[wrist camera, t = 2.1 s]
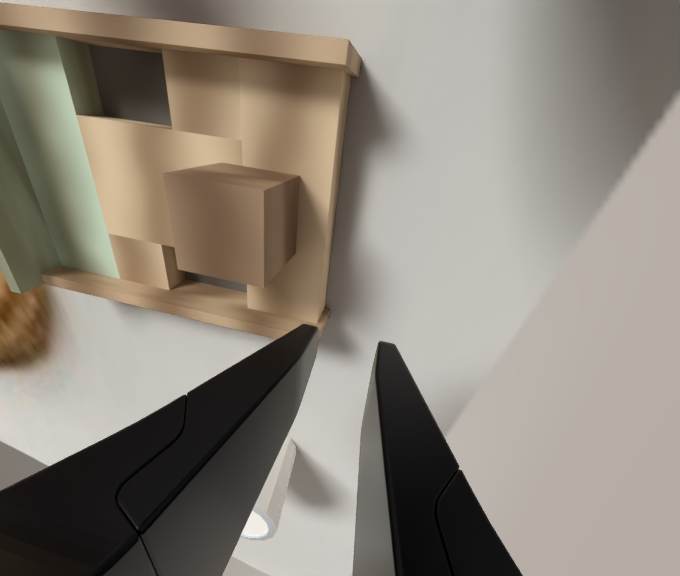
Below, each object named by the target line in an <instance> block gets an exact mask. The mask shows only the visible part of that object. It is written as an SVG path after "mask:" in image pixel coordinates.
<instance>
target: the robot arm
mask: <svg viewBox="0 0 680 576" xmlns="http://www.w3.org/2000/svg"><path fill="white" fill-rule="evenodd" d="M318 336H319V328H318V327H317V326H313V325H309V324H302V325H300V326H298V327H297V328H295V329H293V330H292V331H290V332H288V333H287V334H285V335H283V336H282V337H280V338H278V339H277V340H275V341H273V342H272V343H270V344H268V345H267V346H265V347H263V348H262V349H260V350H258V351H257V352H255V353H253V354H252V355H250V356H248V357H246V358H245V359H243V360H241V361H240V362H238V363H236V364H235V365H233V366H231V367H230V368H228V369H226V370H225V371H223V372H221V373H220V374H218V375H216V376H215V377H213V378H211V379H210V380H208V381H206V382H205V383H203V384H201V385H200V386H198V387H196V388H195V389H193V390H191V391H190V392H188V393H187V396H186V395H183V396H181V397H179V398H178V399H176V400H174V401H172V402H171V403H169V404H167V405H166V406H164V407H162V408H160V409H159V410H157V411H155V412H153V413H152V414H150V415H148V416H146V417H145V418H143V419H141V420H139V421H138V422H136V423H134V424H132V425H130V426H128V427H126V428H124V429H122V430H120V431H118V432H116V433H115V434H113V435H111V436H109V437H107V438H105V439H103V440H101V441H99V442H97V443H95V444H93V445H91V446H89V447H87V448H85V449H83V450H81V451H79V452H77V453H75V454H73V455H71V456H69V457H67V458H65V459H63V460H61V461H59V462H57V463H55V464H53V465H51V466H49V467H47V468H45V469H43V470H42V471H39V472H37V473H35V474H33V475H31V476H29V477H27V478H25V479H23V480H21V481H19V482H17V483H15V484H13V485H11V486H9V487H7V488H5V489H3V490H1V491H0V576H222V574H223V572H224V570H225V568H226V566H227V564H228V561H229V559H230V557H231V555H232V553H233V551H234V549H235V546H236V544H237V542H238V540H239V538H240V536H241V533H242V531H243V529H244V527H245V525H246V523H247V521H248V518H249V516H250V514H251V512H252V510H253V508H254V506H255V503H256V501H257V499H258V497H259V495H260V493H261V490H262V488H263V486H264V484H265V482H266V480H267V478H268V475H269V473H270V471H271V469H272V467H273V465H274V463H275V460H276V458H277V456H278V454H279V452H280V450H281V447H282V445H283V443H284V441H285V439H286V437H287V435H288V432H289V430H290V428H291V426H292V424H293V422H294V419H295V417H296V415H297V412H298V410H299V407H300V404H301V401H302V398H303V395H304V392H305V389H306V386H307V383H308V380H309V377H310V374H311V370H312V367H313V364H314V361H315V358H316V353H317V345H318ZM458 469H459V465H458V463H457V461H456V459H455V457H454V455H453V453H452V452H451V450H450V448H449V446H448V444H447V442H446V440H445V438H444V436H443V434H442V432H441V430H440V429H439V427H438V425H437V423H436V421H435V419H434V417H433V415H432V413H431V411H430V410H429V408H428V406H427V404H426V402H425V400H424V398H423V396H422V394H421V392H420V391H419V389H418V387H417V385H416V383H415V381H414V379H413V377H412V375H411V373H410V372H409V370H408V368H407V366H406V364H405V362H404V360H403V358H402V356H401V355H400V353H399V351H398V349H397V347H396V345H395V344H392V343H388V342H383V341H380V342H379V343H378V346H377V350H376V354H375V358H374V363H373V367H372V372H371V377H370V383H369V388H368V394H367V399H366V405H365V410H364V416H363V422H362V428H361V440H360V457H359V474H358V491H357V508H356V525H355V542H354V560H353V576H522V574H521V572H520V570H519V569H518V567H517V566H516V564H515V563H514V561H513V559H512V558H511V556H510V554H509V553H508V551H507V550H506V548H505V546H504V545H503V543H502V541H501V540H500V538H499V537H498V535H497V533H496V531H495V530H494V528H493V527H492V525H491V523H490V522H489V520H488V518H487V516H486V514H485V513H484V511H483V509H482V507H481V505H480V504H479V502H478V500H477V498H476V497H475V495H474V493H473V491H472V489H471V487H470V485H469V484H468V482H467V480H466V478H465V476H464V474H463V472H462V470H458Z"/></svg>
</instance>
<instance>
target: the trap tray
mask: <svg viewBox="0 0 680 576" xmlns="http://www.w3.org/2000/svg"><path fill="white" fill-rule="evenodd" d="M360 65H361V57H360V55H359V54H358V52H357V51H356V50H355V48H354V47H353V45H352V44H351V42H350V41H349V40H348V39H340V38H330V37H321V36H312V35H302V34H293V33H283V32H274V31H264V30H255V29H245V28H236V27H227V26H217V25H208V24H198V23H189V22H179V21H170V20H161V19H151V18H142V17H132V16H123V15H113V14H104V13H94V12H85V11H76V10H66V9H57V8H47V7H38V6H28V5H19V4H9V3H0V269H1V271H2V273H3V275H4V277H5V279H6V281H7V283H8V285H9V287H10V290H11V291H12V292H16V293H20V294H22V293H24V292H26V291H29V290H31V289H34V288H36V287H38V286H41V285H43V284H47V285H51V286H56V287H60V288H64V289H68V290H72V291H77V292H81V293H85V294H89V295H93V296H98V297H102V298H106V299H110V300H114V301H119V302H123V303H127V304H131V305H135V306H140V307H144V308H148V309H152V310H157V311H161V312H165V313H169V314H173V315H178V316H182V317H186V318H190V319H194V320H199V321H203V322H207V323H211V324H215V325H220V326H224V327H228V328H232V329H236V330H241V331H245V332H249V333H253V334H257V335H262V336H266V337H270V338H274V339H278V338H280V337H282V336H283V335H285V334H287V333H288V332H290V331H292V330H293V329H295V328H297V327H298V326H300V325H302V324H309V325H313V326H317V327H318V328H319V336H318V342H319V340H320V337H321V335H322V333H323V330H324V328H325V326H326V323H327V321H328V319H329V312H330V309H325V300H326V291H327V282H328V273H329V265H330V256H331V247H332V239H333V230H334V221H335V213H336V204H337V195H338V186H339V178H340V169H341V160H342V152H343V143H344V134H345V125H346V117H347V108H348V99H349V91H350V82H351V77H358V78H359V73H360ZM216 163H227V164H233V165H239V166H246V167H252V168H258V169H264V170H270V171H276V172H282V173H288V174H294V175H300V182H299V201H298V220H297V239H296V254H295V255H294V256H293V257H292V258H291V259H290V260H289V262H288V263H287V264H286V265H285V266H284V267H283V268H282V269H281V270H280V271H279V272H278V273H277V275H276V276H275V277H274V278H273V279H272V280H271V281H270V282H269V283H268V284H267V285H266V286H265V288H262V287H257V286H252V285H248V284H243V283H239V282H234V281H229V280H225V279H220V278H216V277H211V276H206V275H202V274H197V273H192V272H188V271H183V270H179V269H178V267H177V261H176V254H175V248H174V242H173V236H172V229H171V223H170V217H169V210H168V204H167V198H166V192H165V185H164V179H163V173H165V172H171V171H176V170H182V169H188V168H193V167H199V166H204V165H210V164H216Z"/></svg>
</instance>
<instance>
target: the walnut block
mask: <svg viewBox="0 0 680 576" xmlns="http://www.w3.org/2000/svg"><path fill="white" fill-rule="evenodd" d="M163 179H164V185H165V192H166V198H167V204H168V210H169V217H170V223H171V229H172V236H173V242H174V248H175V254H176V261H177V267H178V269H179V270H183V271H188V272H192V273H197V274H202V275H206V276H211V277H216V278H220V279H225V280H229V281H234V282H239V283H243V284H248V285H252V286H257V287H262V288H265V286H266V285H267V284H268V283H269V282H270V281H271V280H272V279H273V278H274V277H275V276H276V275H277V273H278V272H279V271H280V270H281V269H282V268H283V267H284V266H285V265H286V264H287V263H288V262H289V260H290V259H291V258H292V257H293V256H294V255H295V254H296V239H297V220H298V201H299V182H300V175H294V174H288V173H282V172H276V171H270V170H264V169H258V168H252V167H246V166H239V165H233V164H227V163H216V164H210V165H204V166H199V167H193V168H188V169H182V170H176V171H171V172H165V173H163Z"/></svg>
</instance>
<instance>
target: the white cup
mask: <svg viewBox="0 0 680 576" xmlns="http://www.w3.org/2000/svg"><path fill="white" fill-rule="evenodd" d="M296 453H297V451H296V445H295V444H294V442H293V441H292V439H291V438H290V437H289V436H288V435H287V437H286V439H285V441H284V443H283V445H282V447H281V450H280V452H279V454H278V456H277V458H276V460H275V463H274V465H273V467H272V469H271V471H270V473H269V475H268V478H267V480H266V482H265V484H264V486H263V488H262V490H261V493H260V495H259V497H258V499H257V501H256V503H255V506H254V508H253V510H252V512H251V514H250V516H249V518H248V521H247V523H246V525H245V527H244V529H243V531H242V533H241V536H240V537H242V538H246V539H250V540H266V539H269V538H272V537H273V536H274V534H275V533H276V531H277V527H278V523H279V519H280V515H281V512H282V508H283V504H284V500H285V496H286V492H287V488H288V484H289V480H290V476H291V472H292V468H293V464H294V461H295V457H296Z"/></svg>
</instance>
